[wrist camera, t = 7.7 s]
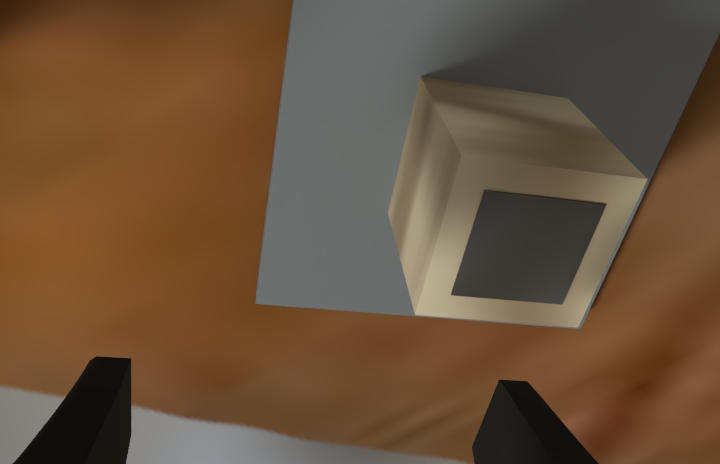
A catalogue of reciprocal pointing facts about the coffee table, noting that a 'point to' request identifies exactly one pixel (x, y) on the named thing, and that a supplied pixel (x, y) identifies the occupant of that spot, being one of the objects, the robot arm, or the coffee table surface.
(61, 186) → the coffee table surface
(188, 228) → the coffee table surface
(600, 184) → the birch block
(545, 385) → the coffee table surface
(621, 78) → the mat
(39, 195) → the coffee table surface
